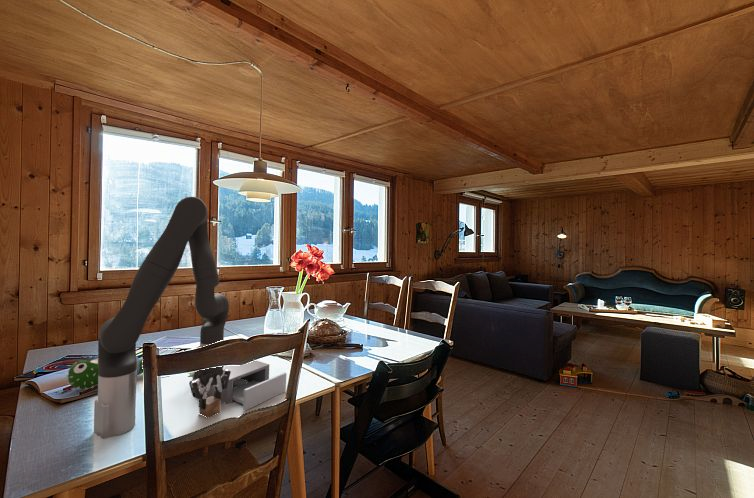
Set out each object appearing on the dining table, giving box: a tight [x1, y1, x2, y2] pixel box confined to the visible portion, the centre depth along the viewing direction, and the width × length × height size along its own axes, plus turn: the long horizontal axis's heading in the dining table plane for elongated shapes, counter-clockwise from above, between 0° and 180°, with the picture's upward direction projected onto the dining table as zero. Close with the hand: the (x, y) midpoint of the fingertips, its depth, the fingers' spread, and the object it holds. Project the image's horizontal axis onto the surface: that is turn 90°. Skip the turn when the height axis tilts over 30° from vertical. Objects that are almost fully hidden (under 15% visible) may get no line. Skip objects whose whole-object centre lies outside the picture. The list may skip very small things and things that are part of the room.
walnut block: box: [198, 396, 221, 419], centre depth 116 cm, size 4×4×4 cm
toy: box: [65, 356, 143, 391], centre depth 136 cm, size 22×11×30 cm
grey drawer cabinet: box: [199, 360, 270, 404], centre depth 135 cm, size 16×19×8 cm
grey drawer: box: [232, 372, 287, 412], centre depth 130 cm, size 16×19×7 cm
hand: (210, 405), depth 116 cm, fingers closed on walnut block, 4 cm apart
